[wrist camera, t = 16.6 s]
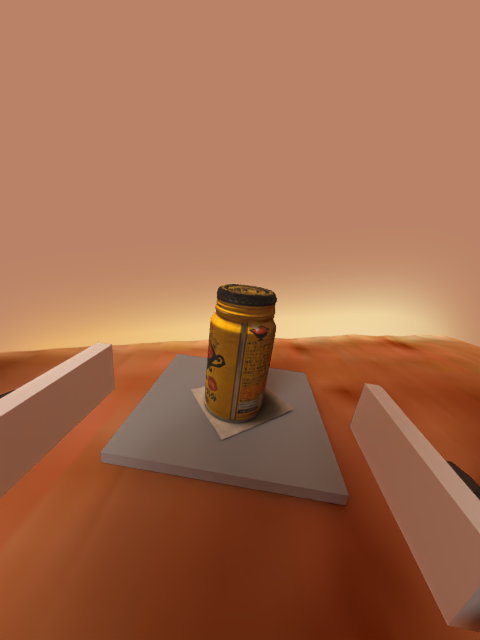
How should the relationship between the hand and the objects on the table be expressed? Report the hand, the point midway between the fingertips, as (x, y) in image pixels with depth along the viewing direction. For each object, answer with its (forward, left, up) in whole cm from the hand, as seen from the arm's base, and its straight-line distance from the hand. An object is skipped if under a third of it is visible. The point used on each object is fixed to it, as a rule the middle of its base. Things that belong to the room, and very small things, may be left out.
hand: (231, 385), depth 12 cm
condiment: (-1, -10, -9) cm, 13 cm away
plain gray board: (0, -10, -9) cm, 14 cm away
